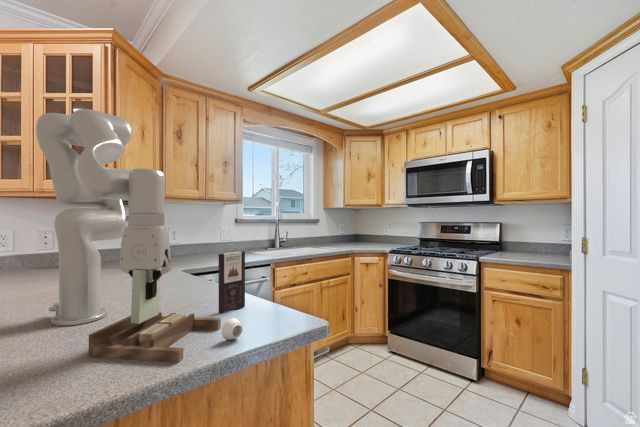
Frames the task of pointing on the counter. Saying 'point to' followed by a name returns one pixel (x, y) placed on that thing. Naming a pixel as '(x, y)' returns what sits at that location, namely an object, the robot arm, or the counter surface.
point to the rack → (124, 339)
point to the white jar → (231, 329)
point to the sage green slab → (142, 298)
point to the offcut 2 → (173, 319)
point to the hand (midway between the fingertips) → (146, 297)
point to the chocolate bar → (231, 281)
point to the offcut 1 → (151, 333)
